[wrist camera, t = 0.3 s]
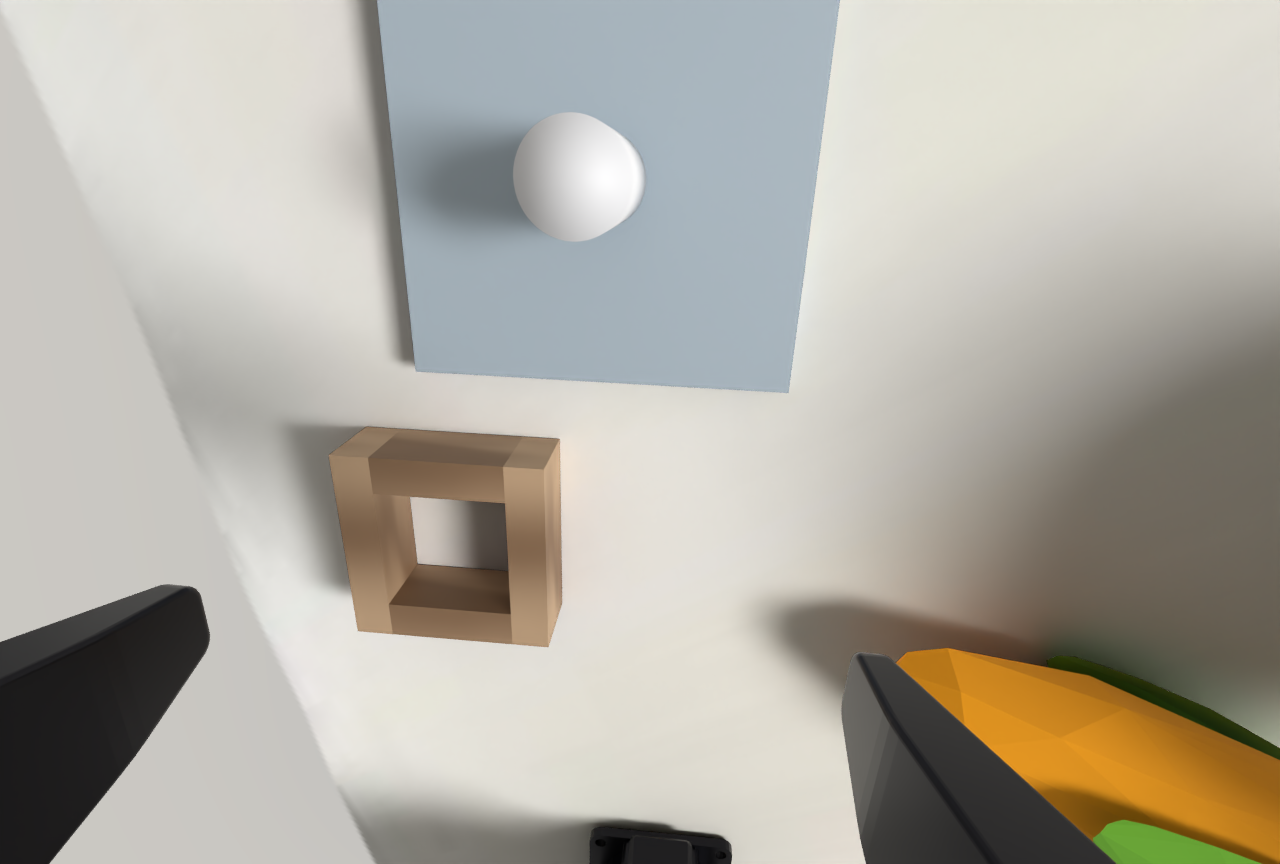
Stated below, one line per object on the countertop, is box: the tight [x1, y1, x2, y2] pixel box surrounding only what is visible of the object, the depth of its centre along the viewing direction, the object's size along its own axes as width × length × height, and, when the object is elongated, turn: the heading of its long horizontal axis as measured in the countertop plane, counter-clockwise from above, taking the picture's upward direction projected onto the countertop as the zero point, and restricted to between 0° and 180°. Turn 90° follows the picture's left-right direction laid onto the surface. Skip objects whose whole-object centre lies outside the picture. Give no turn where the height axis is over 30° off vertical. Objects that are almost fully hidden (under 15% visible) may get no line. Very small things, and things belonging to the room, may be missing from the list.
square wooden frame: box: [329, 427, 562, 647], centre depth 22 cm, size 7×7×2 cm
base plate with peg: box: [377, 0, 840, 393], centre depth 16 cm, size 12×12×6 cm
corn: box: [896, 648, 1280, 864], centre depth 21 cm, size 7×8×20 cm
